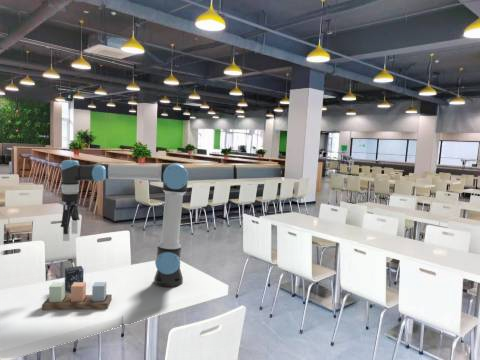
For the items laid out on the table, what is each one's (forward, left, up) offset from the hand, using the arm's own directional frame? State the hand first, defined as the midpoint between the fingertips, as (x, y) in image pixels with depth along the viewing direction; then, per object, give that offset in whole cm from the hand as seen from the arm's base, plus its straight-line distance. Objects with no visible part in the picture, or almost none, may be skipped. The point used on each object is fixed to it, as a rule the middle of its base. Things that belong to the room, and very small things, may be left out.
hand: (70, 237), depth 179 cm
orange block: (-7, +14, -25) cm, 30 cm away
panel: (-7, +14, -28) cm, 32 cm away
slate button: (-16, +14, -25) cm, 33 cm away
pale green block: (+2, +14, -25) cm, 29 cm away
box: (0, -5, -28) cm, 28 cm away
